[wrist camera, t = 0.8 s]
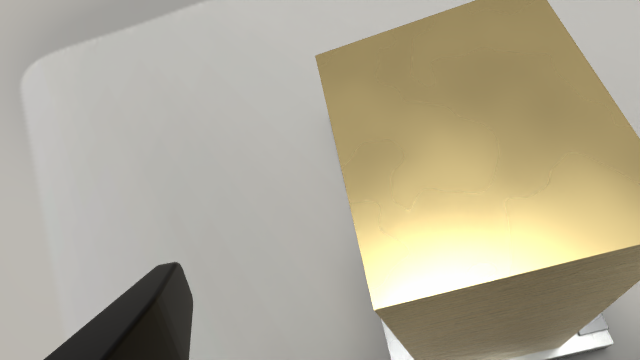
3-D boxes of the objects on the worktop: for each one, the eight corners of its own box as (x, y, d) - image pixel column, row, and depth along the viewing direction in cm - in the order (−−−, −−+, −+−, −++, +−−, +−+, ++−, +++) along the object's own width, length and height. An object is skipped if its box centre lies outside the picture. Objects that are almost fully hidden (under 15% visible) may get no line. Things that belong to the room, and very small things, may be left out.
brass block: (559, 347, 17) (700, 229, 7) (427, 376, 18) (373, 309, 7) (499, 207, 20) (533, -20, 10) (389, 237, 21) (315, 55, 11)
